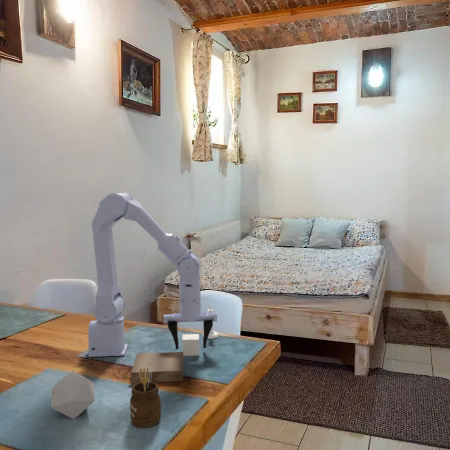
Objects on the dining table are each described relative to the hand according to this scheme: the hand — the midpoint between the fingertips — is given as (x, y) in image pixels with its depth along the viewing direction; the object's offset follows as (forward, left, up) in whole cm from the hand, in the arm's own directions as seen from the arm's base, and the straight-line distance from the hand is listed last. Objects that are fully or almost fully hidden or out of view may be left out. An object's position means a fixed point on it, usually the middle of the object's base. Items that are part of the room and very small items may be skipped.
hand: (190, 347), depth 126 cm
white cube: (0, 0, -2) cm, 2 cm away
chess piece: (+6, +13, -2) cm, 14 cm away
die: (-24, -31, -2) cm, 39 cm away
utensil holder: (-9, -36, -2) cm, 37 cm away
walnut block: (-8, -12, -2) cm, 15 cm away
